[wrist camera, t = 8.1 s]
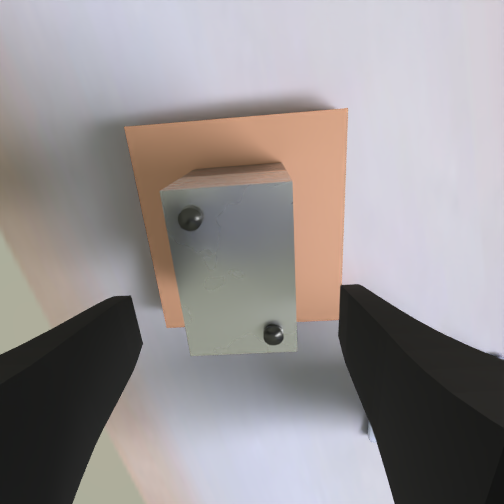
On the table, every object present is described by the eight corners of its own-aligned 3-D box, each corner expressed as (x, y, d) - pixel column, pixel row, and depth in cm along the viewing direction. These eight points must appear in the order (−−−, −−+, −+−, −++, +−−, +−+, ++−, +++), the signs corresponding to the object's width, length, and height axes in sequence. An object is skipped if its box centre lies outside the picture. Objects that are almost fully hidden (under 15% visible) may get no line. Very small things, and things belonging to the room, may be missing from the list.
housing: (286, 283, 18) (298, 356, 13) (211, 287, 19) (188, 361, 13) (281, 162, 16) (293, 182, 10) (194, 169, 16) (156, 192, 10)
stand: (338, 110, 17) (347, 108, 15) (333, 303, 21) (340, 319, 19) (138, 126, 17) (123, 126, 15) (174, 310, 22) (166, 328, 20)
